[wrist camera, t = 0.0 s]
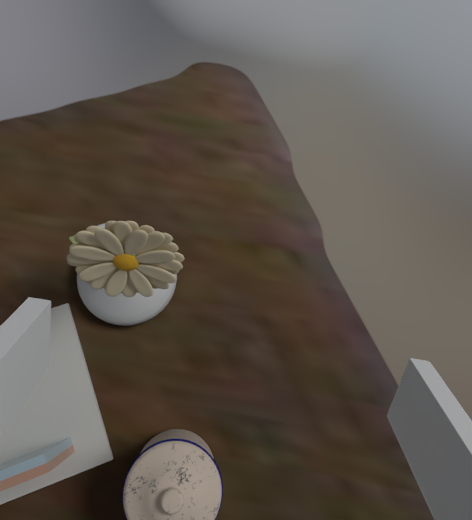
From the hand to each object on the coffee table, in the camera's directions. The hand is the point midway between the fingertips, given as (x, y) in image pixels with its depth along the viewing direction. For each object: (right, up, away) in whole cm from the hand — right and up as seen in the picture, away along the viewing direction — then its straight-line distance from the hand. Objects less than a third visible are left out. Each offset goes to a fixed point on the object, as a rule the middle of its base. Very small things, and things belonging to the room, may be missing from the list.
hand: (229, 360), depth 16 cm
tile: (-21, -17, +30) cm, 40 cm away
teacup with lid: (-6, -21, +32) cm, 38 cm away
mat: (-23, -12, +32) cm, 41 cm away
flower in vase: (-12, +1, +36) cm, 38 cm away
